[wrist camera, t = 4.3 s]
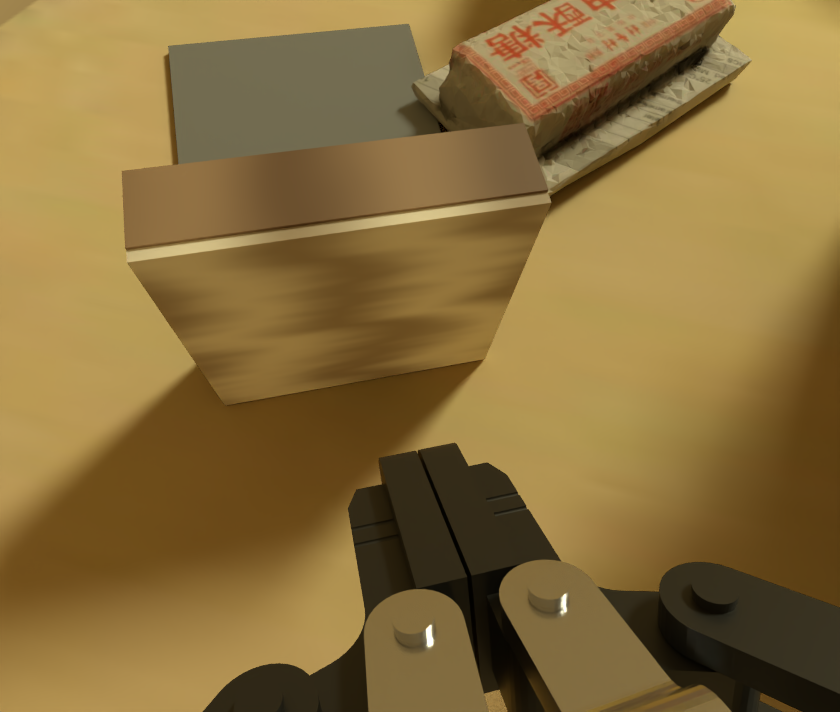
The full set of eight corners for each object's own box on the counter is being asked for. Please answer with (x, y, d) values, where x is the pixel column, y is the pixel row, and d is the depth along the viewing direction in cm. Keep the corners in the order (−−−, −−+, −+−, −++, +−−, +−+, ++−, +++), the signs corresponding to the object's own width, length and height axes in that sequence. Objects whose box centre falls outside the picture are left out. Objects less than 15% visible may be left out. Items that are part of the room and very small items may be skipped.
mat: (408, 29, 37) (408, 23, 37) (483, 283, 31) (484, 279, 30) (170, 51, 35) (168, 45, 35) (194, 329, 29) (192, 325, 28)
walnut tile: (468, 304, 30) (524, 122, 19) (484, 360, 29) (552, 200, 18) (218, 345, 28) (122, 171, 17) (225, 406, 27) (125, 260, 16)
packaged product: (553, 155, 27) (415, 23, 30) (526, 220, 32) (408, 100, 35) (790, 9, 33) (657, -92, 36) (739, 82, 38) (624, -13, 40)
